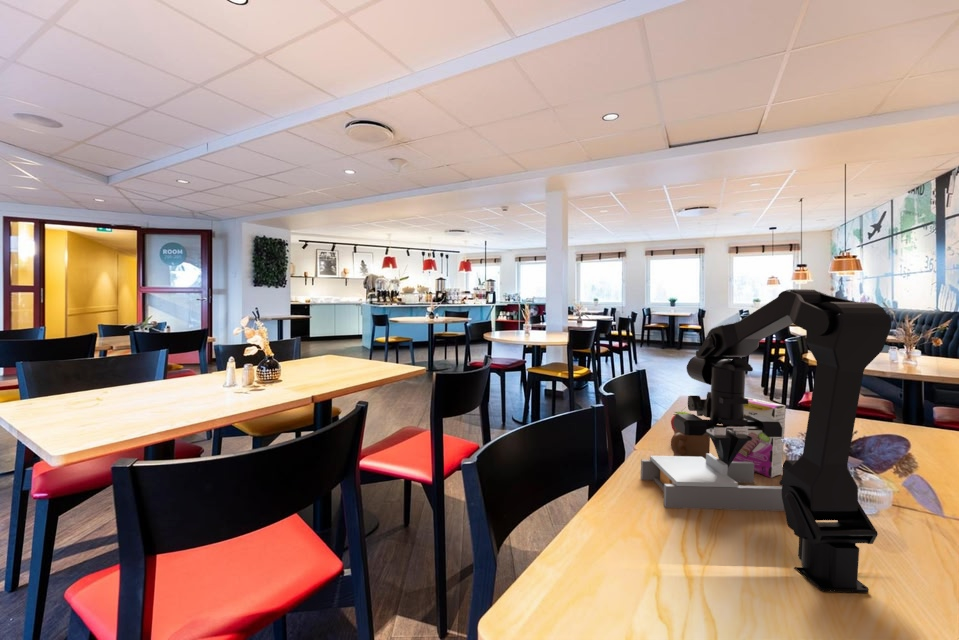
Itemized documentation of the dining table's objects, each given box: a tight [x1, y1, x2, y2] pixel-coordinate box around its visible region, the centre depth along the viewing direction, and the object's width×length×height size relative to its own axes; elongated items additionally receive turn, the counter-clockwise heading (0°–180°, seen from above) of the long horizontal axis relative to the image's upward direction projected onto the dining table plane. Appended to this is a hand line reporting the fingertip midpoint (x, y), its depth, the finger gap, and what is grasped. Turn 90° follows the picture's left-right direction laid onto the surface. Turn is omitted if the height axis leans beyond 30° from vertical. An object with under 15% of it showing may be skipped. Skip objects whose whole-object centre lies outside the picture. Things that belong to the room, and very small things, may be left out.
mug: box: [670, 428, 711, 459], centre depth 96 cm, size 12×8×9 cm, turn 124°
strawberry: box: [670, 407, 692, 432], centre depth 115 cm, size 6×8×10 cm
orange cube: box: [660, 470, 672, 484], centre depth 85 cm, size 4×4×4 cm
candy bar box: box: [733, 395, 787, 479], centre depth 97 cm, size 11×5×16 cm, turn 27°
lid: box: [649, 452, 739, 487], centre depth 82 cm, size 13×11×3 cm
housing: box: [640, 459, 785, 512], centre depth 82 cm, size 13×24×5 cm, turn 88°
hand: (724, 467), depth 82 cm, fingers closed
